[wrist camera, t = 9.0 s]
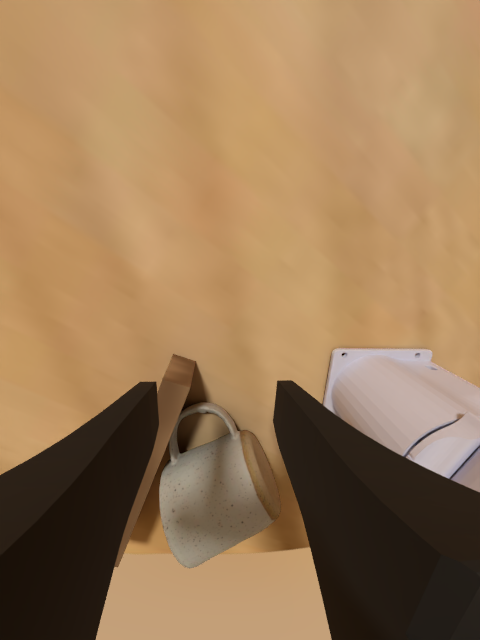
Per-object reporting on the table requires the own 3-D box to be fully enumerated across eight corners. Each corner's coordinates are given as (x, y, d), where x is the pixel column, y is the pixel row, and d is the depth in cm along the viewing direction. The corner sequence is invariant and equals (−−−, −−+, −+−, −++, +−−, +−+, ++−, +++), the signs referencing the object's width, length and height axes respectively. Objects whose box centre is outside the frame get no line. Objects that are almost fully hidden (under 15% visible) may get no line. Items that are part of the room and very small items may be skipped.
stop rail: (195, 361, 20) (190, 387, 17) (133, 518, 25) (118, 567, 21) (173, 354, 20) (162, 379, 16) (114, 515, 25) (95, 564, 21)
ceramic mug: (274, 460, 25) (297, 549, 17) (205, 491, 25) (198, 592, 18) (228, 381, 22) (232, 449, 14) (150, 418, 22) (114, 503, 15)
